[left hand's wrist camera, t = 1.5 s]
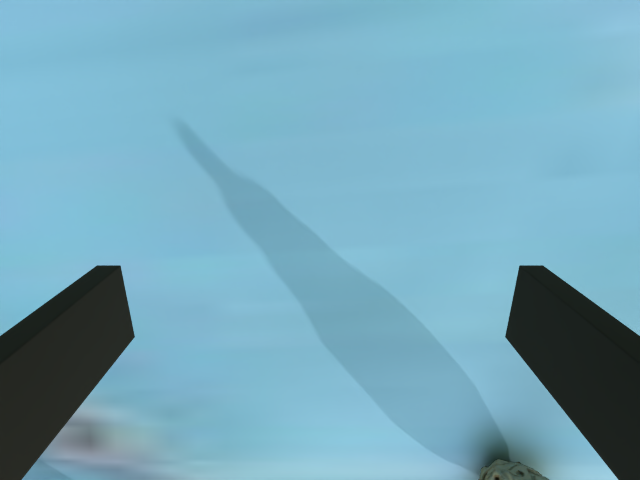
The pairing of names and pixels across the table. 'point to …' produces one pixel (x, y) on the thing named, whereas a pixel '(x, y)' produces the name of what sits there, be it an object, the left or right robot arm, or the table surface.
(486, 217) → the table surface
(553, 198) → the table surface
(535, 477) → the teapot
